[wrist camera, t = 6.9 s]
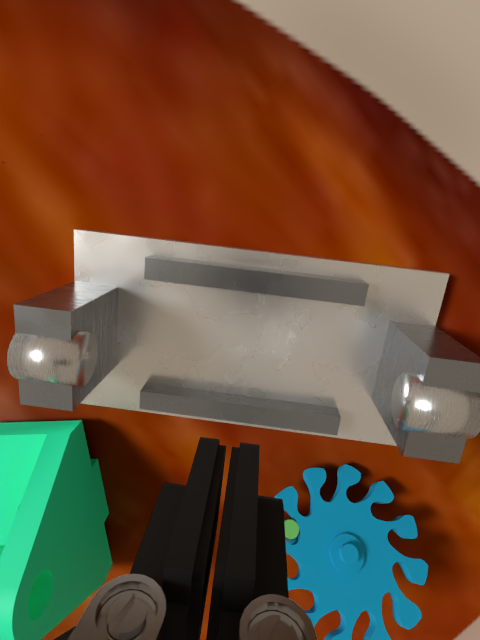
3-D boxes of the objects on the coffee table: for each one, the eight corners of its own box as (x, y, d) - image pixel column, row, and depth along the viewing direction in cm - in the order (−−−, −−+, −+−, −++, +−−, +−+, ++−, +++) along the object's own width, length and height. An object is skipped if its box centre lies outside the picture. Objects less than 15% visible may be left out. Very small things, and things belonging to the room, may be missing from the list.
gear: (430, 482, 24) (439, 690, 19) (388, 491, 29) (385, 657, 24) (263, 440, 24) (227, 637, 19) (249, 456, 29) (219, 615, 24)
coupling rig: (398, 439, 25) (448, 527, 18) (82, 396, 25) (14, 465, 19) (442, 271, 21) (524, 300, 15) (80, 228, 22) (-3, 237, 15)
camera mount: (-16, 415, 27) (-182, 536, 17) (89, 411, 26) (-20, 535, 16) (24, 550, 30) (-96, 719, 20) (118, 550, 29) (42, 724, 19)
